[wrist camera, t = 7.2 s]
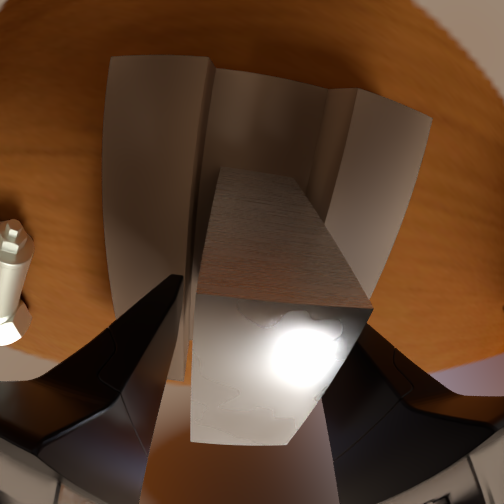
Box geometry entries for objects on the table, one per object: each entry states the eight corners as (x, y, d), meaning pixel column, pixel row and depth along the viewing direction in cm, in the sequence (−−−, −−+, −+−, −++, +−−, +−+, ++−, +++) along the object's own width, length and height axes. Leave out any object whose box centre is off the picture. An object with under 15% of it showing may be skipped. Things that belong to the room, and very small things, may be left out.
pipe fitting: (32, 195, 12) (-31, 214, 11) (-8, 225, 9) (-65, 242, 8) (73, 309, 16) (9, 310, 15) (54, 352, 13) (-12, 345, 12)
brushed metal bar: (293, 177, 12) (373, 308, 5) (265, 293, 14) (286, 444, 8) (220, 166, 11) (195, 293, 4) (205, 287, 14) (190, 441, 7)
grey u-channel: (386, 109, 10) (432, 118, 7) (309, 342, 17) (320, 387, 14) (144, 66, 9) (110, 56, 6) (141, 326, 16) (127, 372, 13)
